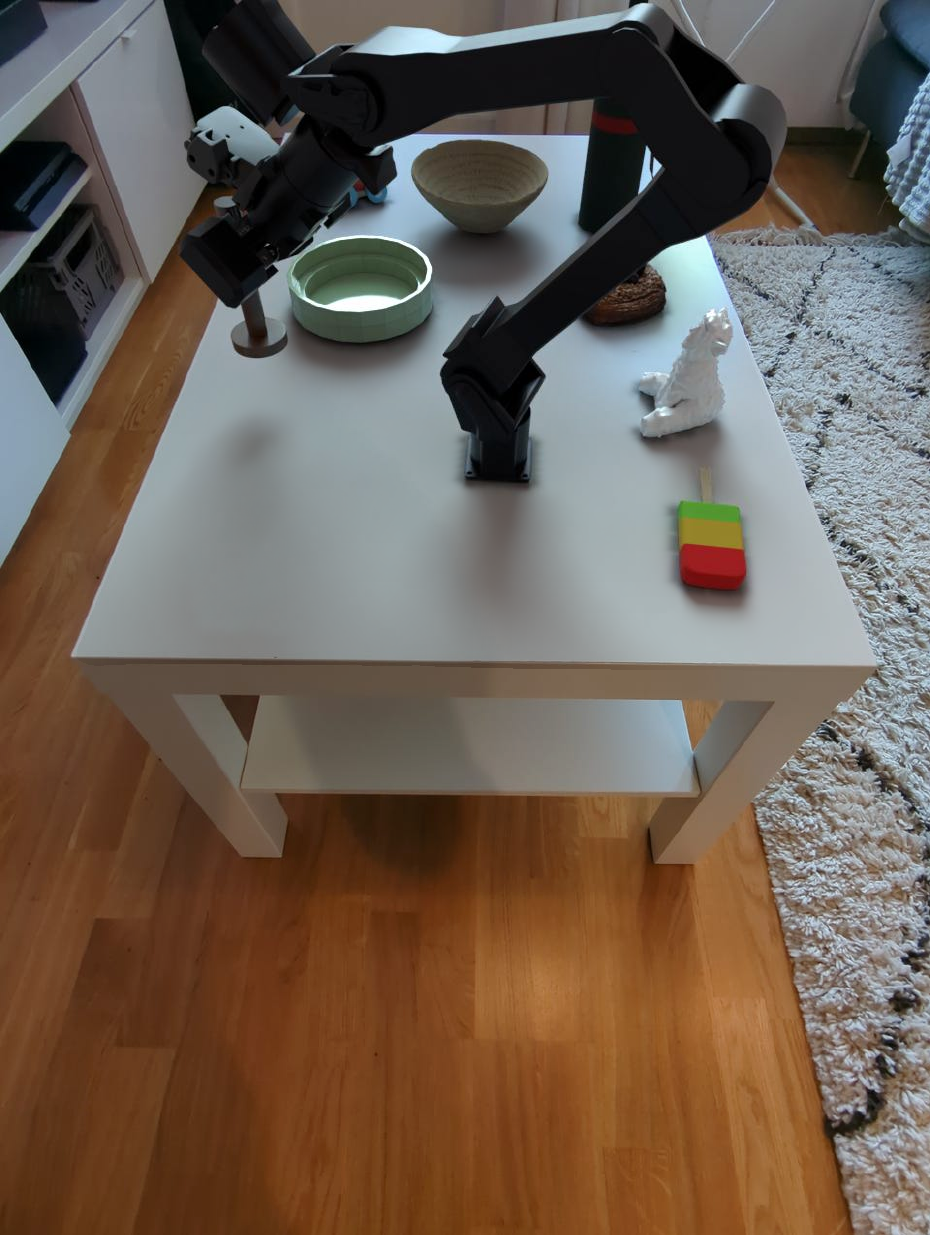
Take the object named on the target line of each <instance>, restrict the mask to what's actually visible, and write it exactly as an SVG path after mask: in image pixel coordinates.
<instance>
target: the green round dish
mask: <svg viewBox="0 0 930 1235" xmlns="http://www.w3.org/2000/svg"><path fill="white" fill-rule="evenodd" d="M433 269H434V268H433V266H432V264H431V262H430V259H429V257H428V256H427V255H426V254H425V253H424V252H423V251H421V250H420V249H419V248H418V247H417V246H414V245H413V244H410V243H408V242H404V241H403V240H400V239H396V238H392V237H386V236H380V235H351V236H343V237H337V238H333V239H329V240H326V241H323V242H320V243H317V244H316V245H315V244H314V245H313V246H311V247H309V248H308V249H305V250H303V251H302V252H301V253H300V254H298V255H297V257H296V258H295V259H294V260H292V261H291V262H290V265H289V267H288V270H287V272H286V275H285V276H286V280H287V285H288V291H289V296H290V301H291V307H292V311H293V316H294V319H296V320H297V322H298V323H299V324H300V325H301V326H302V327H303V328H304V329H305V330H307V331H309V332H311V333H312V334H315V335H317V336H318V337H320V338H325V339H328V340H333V341H337V342H341V343H361V344H362V343H363V344H364V343H370V342H377V341H384V340H389V339H392V338H395V337H398V336H401V335H403V334H406V333H409V332H410V331H412V330H413V329H415V328H416V327H417V326H420V325H421V324H422V323H424V321H425V320H426V318H428V316H429V315H430V313H431V312H432V309H433V305H434V304H433V303H434V299H435V298H434V273H433Z"/></svg>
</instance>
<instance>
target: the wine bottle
mask: <svg viewBox="0 0 930 1235" xmlns="http://www.w3.org/2000/svg"><path fill="white" fill-rule="evenodd" d="M641 3H649V0H628V7H627V9H629V8H631V7H633V6H635V5H637V4H641ZM587 143H588V144H587V149H586V158H585V166H584V174H583V182H582V190H581V198H580V205H579V214H578V221H577V223H578V225H579V226H580V227H581V229H582V230H583V231H585V232H588V233H590V234H592V235H594V234H595V233H596V232H598V231H599V230H600V229H601V228H602V227H603V226H604V225H605V224H606V223H607V222H609V221H610V220H611V219H612V218H613V217H614V216H615V215H616V214H617V213H618V212H620V211H621V210H622V209H623V208H624V207H625V206H626V205H627V204H628V203H630V202H631V201H632V200H633V199H634V198H635V197H636V196H637V195H638V194H639V193H640V187H641V180H642V175H643V174H642V173H643V169H644V163H645V158H646V151H647V145H646V144H645V142H644V140H643V139H642V137H641V135H640V134H639V132H638V131H637V129H636V127H635V126H634V124H633V122H632V121H631V119H630V117H629V116H628V114H627V113H626V111H625V110H624V109H623V108H622V107H621V106H620V105H619V104H618V103H617V102H616V101H615V100H614V99H613V98H612V97H609V98H600V99H593V103H592V112H591V118H590V126H589V135H588V142H587ZM649 155H650V156H649V171H650V175H651V179H652V178H653V177H654V175H653V174H654V163H655V162H654V161H655V158H654V157H653V155H652V154H651V153H650V154H649Z"/></svg>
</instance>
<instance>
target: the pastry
mask: <svg viewBox="0 0 930 1235" xmlns="http://www.w3.org/2000/svg"><path fill="white" fill-rule="evenodd" d="M662 277H663V276H662V275H661V274H659V273H658V271H657V269H654V267H653V266H652V265H651V264H650V263H649V262H648V263H647V264H646V265H644V266H643V267H642V268H641V269H639V270H638V271H637V272H636V273H634V274H633V275H632V276H631V277H629V278H628V279H627V280H626V281H624V282H623V283H622V284H621V285H619V286H618V287H617V288H616V289H614V290H613V291H612V292H611V293H610V294H608V295H607V296H606V297H605V298H603V299H602V300H601V301H600V302H598V303H597V304H596V305H595V306H593V307H592V308H591V309H590V310H588V311H587V312H586V313H585V314H583V315H582V316H581V317H582V318H583V319H584V320H585V321H587V322H588V323H590V324H591V325H592V326H596V325H597V326H600V327H609V328H610V327H611V328H615V327H616V328H617V327H625V326H631V325H637V324H639V323H642V322H645V321H648V320H650V319H652V318H654V317H656V316H658V315H659V314H661V313H663V311H664V310H665V306H666V304H667V298H666V293H667V290H668V289H667V287H666V283H665V281H664V280H663V278H662Z"/></svg>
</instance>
